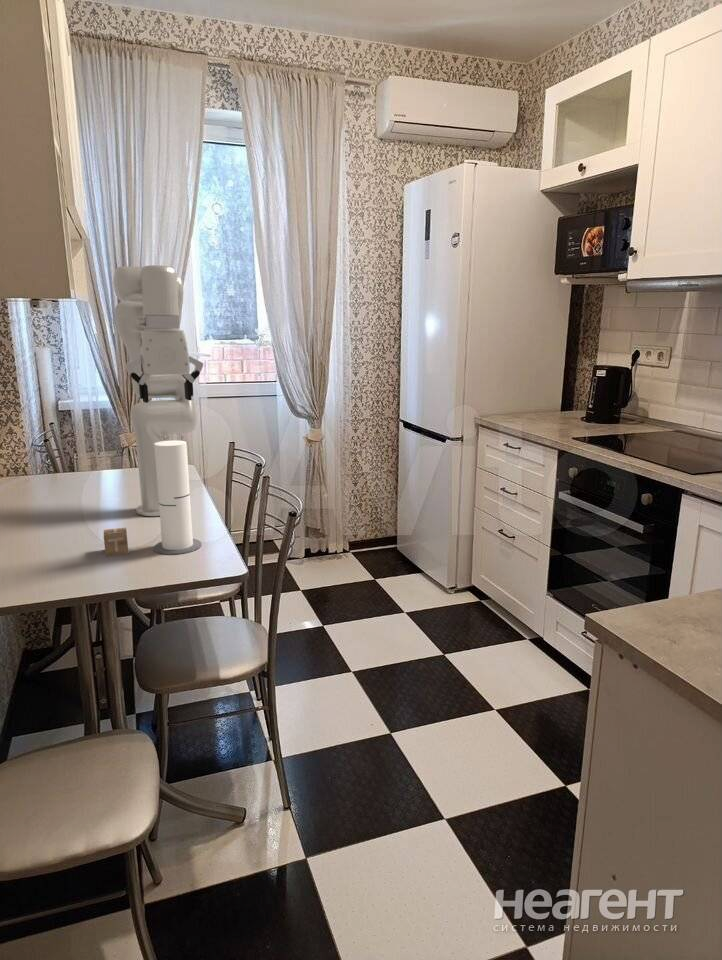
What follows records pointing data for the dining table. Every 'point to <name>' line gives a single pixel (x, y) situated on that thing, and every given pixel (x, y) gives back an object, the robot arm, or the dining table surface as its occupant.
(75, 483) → the dining table surface
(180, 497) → the cylindrical container
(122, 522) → the dining table surface
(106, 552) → the wooden letter cube
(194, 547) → the charcoal mat
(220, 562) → the dining table surface
